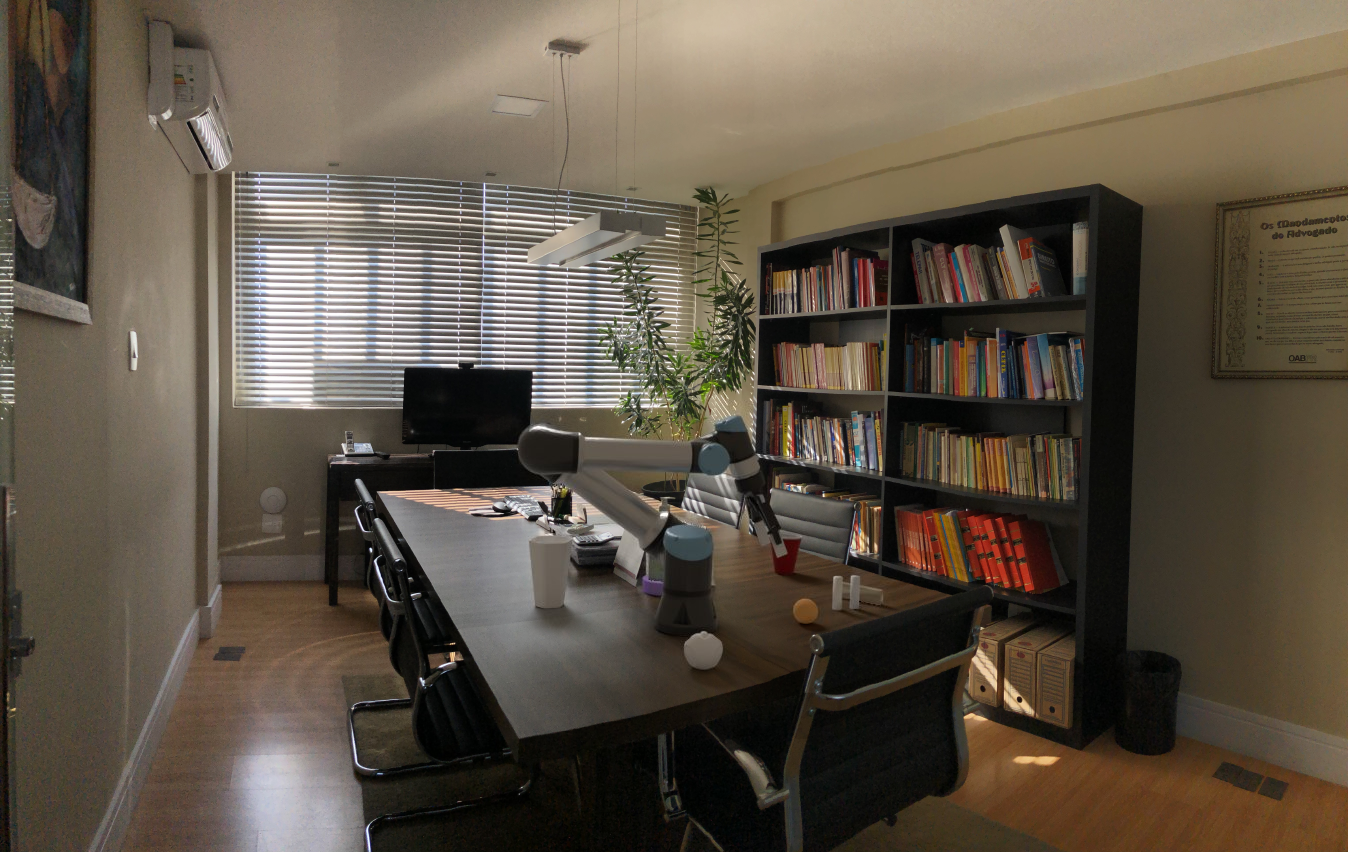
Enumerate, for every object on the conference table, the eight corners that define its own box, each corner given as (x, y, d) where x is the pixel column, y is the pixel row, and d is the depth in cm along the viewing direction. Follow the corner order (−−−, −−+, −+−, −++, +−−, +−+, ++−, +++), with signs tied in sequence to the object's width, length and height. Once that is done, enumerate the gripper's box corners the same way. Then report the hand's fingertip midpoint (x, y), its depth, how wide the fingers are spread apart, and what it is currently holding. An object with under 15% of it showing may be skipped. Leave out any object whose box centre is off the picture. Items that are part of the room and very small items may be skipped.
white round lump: (720, 662, 168) (721, 626, 168) (724, 675, 160) (725, 637, 160) (682, 661, 168) (683, 625, 167) (684, 675, 160) (685, 636, 160)
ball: (805, 628, 193) (806, 603, 193) (787, 621, 198) (788, 597, 198) (822, 624, 197) (823, 600, 196) (804, 618, 202) (805, 594, 201)
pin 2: (854, 609, 210) (856, 577, 210) (847, 607, 212) (848, 575, 212) (860, 608, 212) (862, 576, 211) (853, 606, 214) (855, 574, 213)
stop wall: (879, 605, 215) (880, 591, 215) (832, 595, 224) (832, 581, 223) (882, 604, 217) (883, 589, 216) (835, 594, 225) (836, 580, 225)
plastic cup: (800, 569, 255) (802, 531, 254) (802, 577, 244) (804, 538, 243) (766, 567, 256) (767, 530, 255) (766, 575, 245) (768, 536, 244)
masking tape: (647, 597, 217) (648, 583, 217) (638, 586, 229) (638, 573, 228) (689, 595, 221) (689, 581, 220) (677, 585, 232) (678, 571, 232)
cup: (560, 612, 200) (562, 544, 199) (522, 609, 202) (523, 542, 201) (575, 600, 211) (576, 536, 210) (538, 597, 213) (540, 533, 212)
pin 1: (837, 610, 209) (838, 578, 209) (830, 608, 211) (831, 576, 210) (843, 609, 210) (844, 577, 210) (836, 607, 212) (837, 575, 212)
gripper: (775, 474, 194) (803, 554, 197) (746, 463, 219) (772, 534, 222) (747, 485, 193) (775, 566, 196) (721, 473, 218) (747, 545, 220)
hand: (773, 549), depth 209 cm, fingers open, 13 cm apart
